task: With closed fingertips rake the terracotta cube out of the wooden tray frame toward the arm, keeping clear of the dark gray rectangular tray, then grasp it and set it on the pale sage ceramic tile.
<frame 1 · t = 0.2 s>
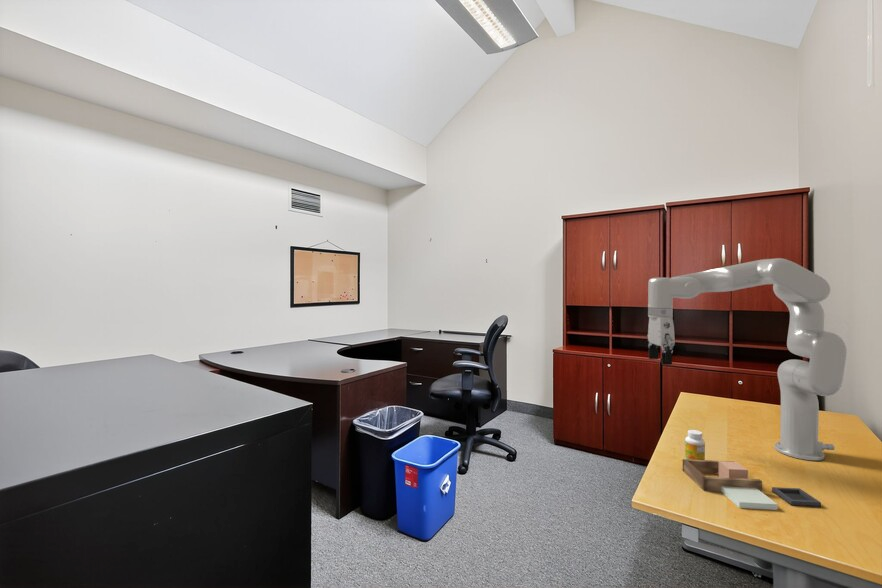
hand: (659, 361, 137), 31 cm above the table, fingers open, 9 cm apart
terracotta cube: (732, 482, 114), on the table
wooden tray frame: (719, 481, 115), on the table
supplement bottle: (694, 461, 128), on the table
sage tile: (748, 500, 104), on the table
dark gray rectangular tray: (795, 498, 105), on the table
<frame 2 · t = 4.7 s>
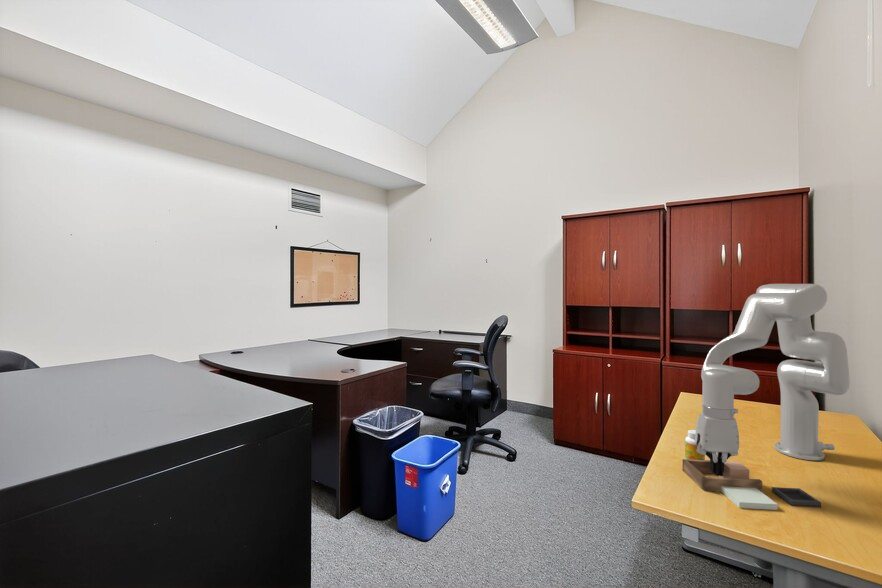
hand: (716, 473, 115), 2 cm above the table, fingers closed
terracotta cube: (733, 481, 114), on the table, touching gripper
everything else where it was.
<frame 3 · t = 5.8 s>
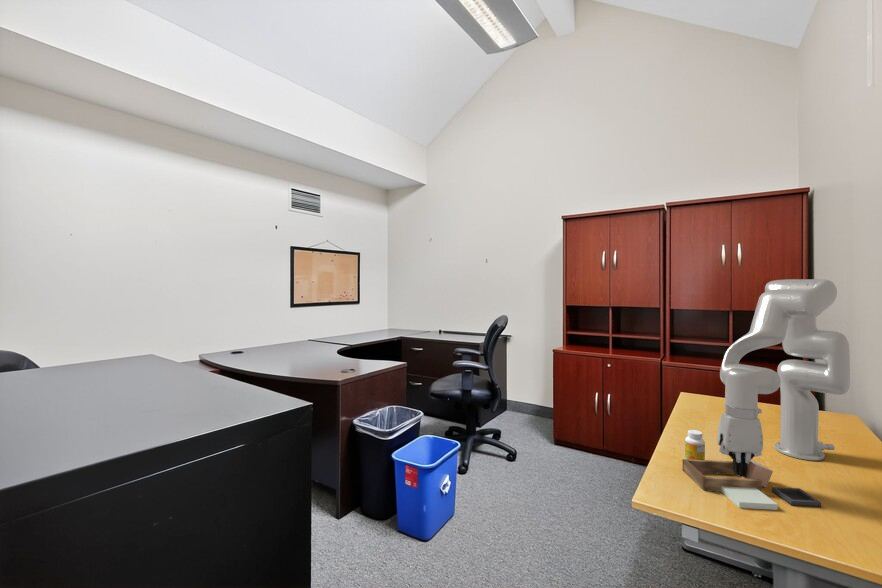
hand: (739, 474, 114), 2 cm above the table, fingers closed
terracotta cube: (751, 479, 114), point 1 cm above the table, tilted 20°, touching gripper
everything else where it was.
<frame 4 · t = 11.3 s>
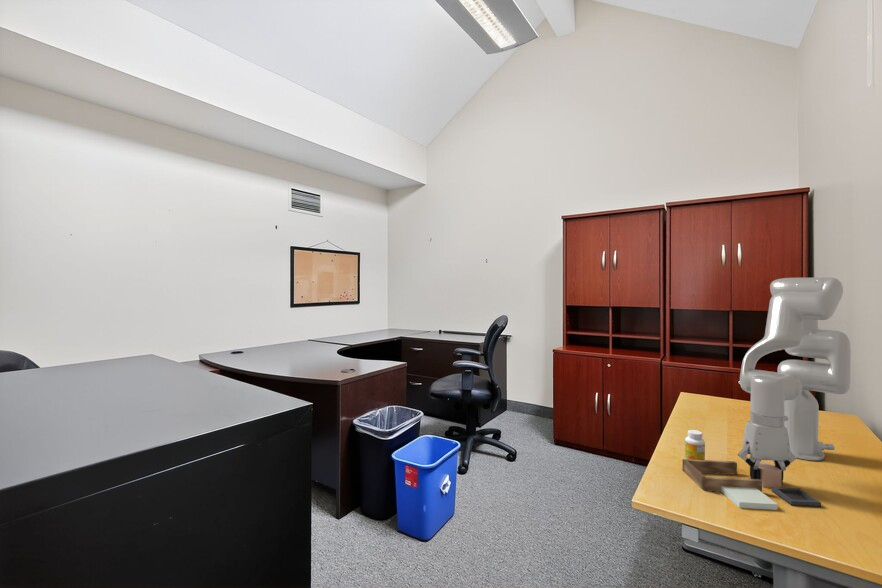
hand: (766, 481, 113), 1 cm above the table, fingers closed on terracotta cube, 5 cm apart
terracotta cube: (765, 483, 113), on the table, touching gripper
everything else where it was.
when the fingers open (3 cm above the table, at t = 16.3 s): terracotta cube stays where it is, resting on sage tile.
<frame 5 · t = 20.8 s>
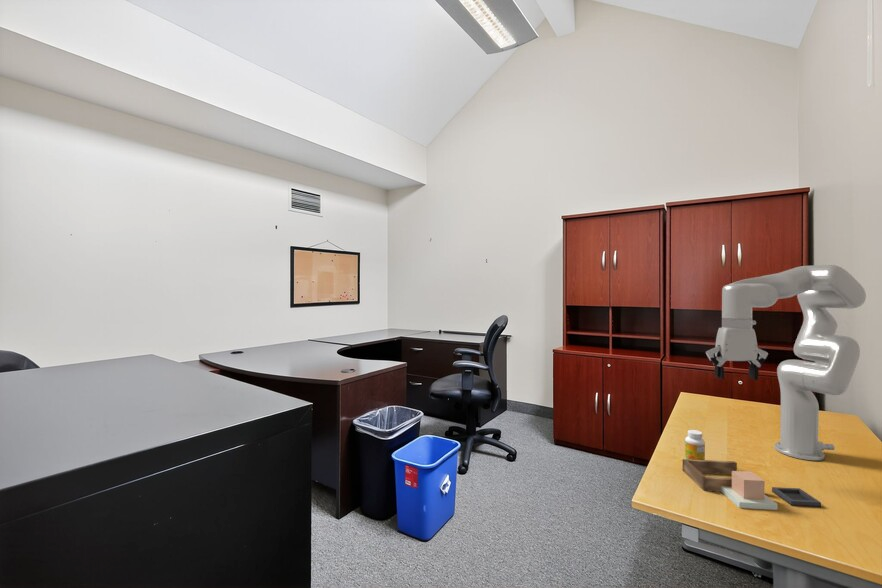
hand: (736, 378, 122), 28 cm above the table, fingers open, 9 cm apart
terracotta cube: (747, 494, 105), point 1 cm above the table, touching sage tile
everything else where it was.
at the end: terracotta cube inside the target area on the sage tile (0.4 cm from its centre), point 1.5 cm above the sage tile's base; terracotta cube inside the target area (0.4 cm from its centre), point 1.5 cm above the table; the gripper is holding nothing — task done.
